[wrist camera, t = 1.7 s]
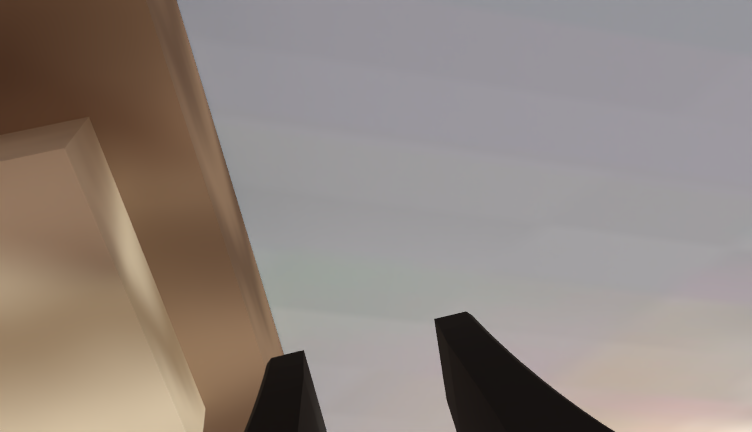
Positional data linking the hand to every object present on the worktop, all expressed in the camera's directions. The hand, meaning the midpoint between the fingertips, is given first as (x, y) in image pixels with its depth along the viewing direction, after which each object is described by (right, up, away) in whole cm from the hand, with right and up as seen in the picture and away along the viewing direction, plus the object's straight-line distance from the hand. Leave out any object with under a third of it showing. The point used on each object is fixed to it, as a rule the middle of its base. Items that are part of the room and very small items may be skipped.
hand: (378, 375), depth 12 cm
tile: (-9, +1, +4) cm, 10 cm away
